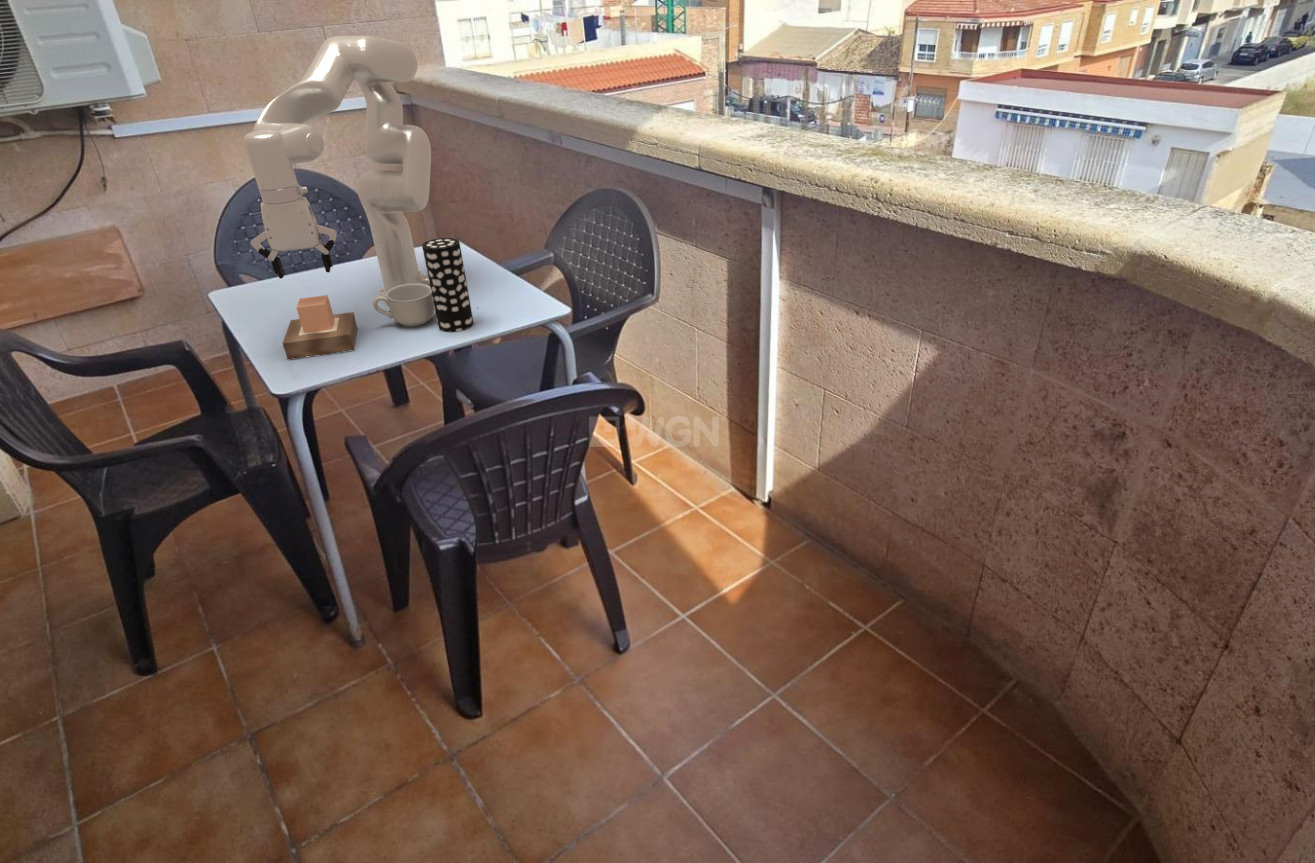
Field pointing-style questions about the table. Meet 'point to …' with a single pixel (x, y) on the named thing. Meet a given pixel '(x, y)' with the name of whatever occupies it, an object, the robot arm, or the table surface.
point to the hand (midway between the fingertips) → (305, 273)
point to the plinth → (321, 338)
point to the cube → (315, 313)
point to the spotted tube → (448, 284)
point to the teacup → (408, 304)
